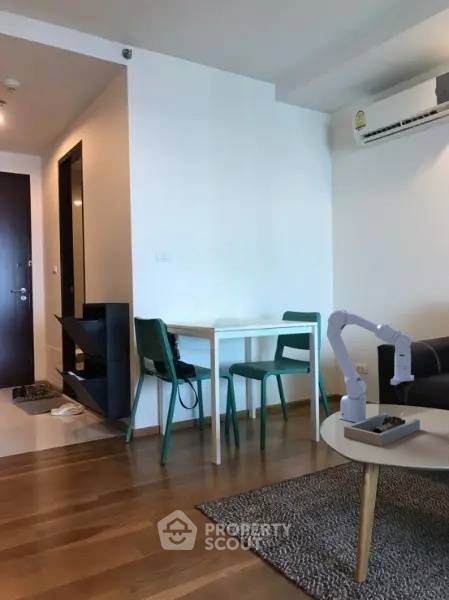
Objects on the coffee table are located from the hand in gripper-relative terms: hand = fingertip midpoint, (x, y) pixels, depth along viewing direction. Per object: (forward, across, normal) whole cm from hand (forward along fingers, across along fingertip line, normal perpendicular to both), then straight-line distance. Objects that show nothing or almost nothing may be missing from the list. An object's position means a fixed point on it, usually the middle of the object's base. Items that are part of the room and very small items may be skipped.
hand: (402, 401), depth 178 cm
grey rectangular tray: (+9, -14, 0) cm, 17 cm away
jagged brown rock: (+10, -14, -2) cm, 17 cm away
